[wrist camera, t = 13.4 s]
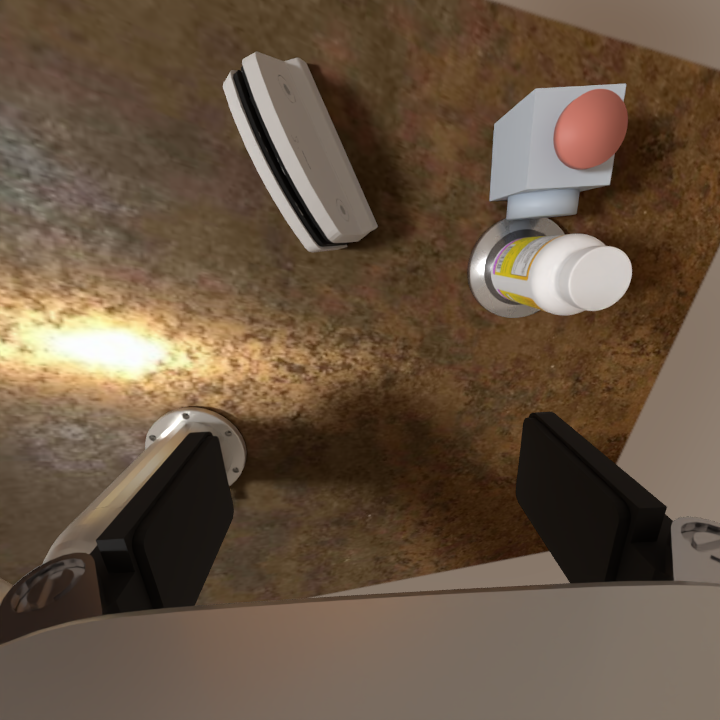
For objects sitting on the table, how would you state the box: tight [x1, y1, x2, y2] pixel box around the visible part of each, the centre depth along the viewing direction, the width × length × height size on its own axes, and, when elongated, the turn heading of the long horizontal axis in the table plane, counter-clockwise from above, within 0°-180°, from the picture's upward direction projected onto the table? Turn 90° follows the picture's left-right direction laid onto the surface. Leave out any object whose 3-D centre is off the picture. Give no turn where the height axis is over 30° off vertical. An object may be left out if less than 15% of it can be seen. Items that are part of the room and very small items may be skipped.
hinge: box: [223, 52, 378, 252], centre depth 31 cm, size 17×5×10 cm, turn 26°
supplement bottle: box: [491, 234, 632, 315], centre depth 31 cm, size 7×7×13 cm
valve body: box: [490, 84, 628, 220], centre depth 30 cm, size 9×7×10 cm
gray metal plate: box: [468, 218, 565, 318], centre depth 38 cm, size 11×11×1 cm
